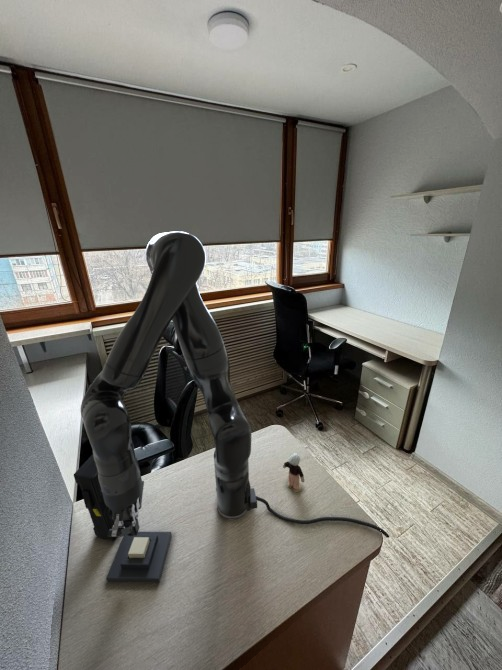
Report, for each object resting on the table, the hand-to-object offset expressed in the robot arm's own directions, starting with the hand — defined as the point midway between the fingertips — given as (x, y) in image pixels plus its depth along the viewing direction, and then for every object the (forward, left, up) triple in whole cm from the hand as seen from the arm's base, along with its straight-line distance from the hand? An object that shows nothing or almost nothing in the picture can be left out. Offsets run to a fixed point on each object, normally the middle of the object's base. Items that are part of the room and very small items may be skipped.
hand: (133, 531), depth 62 cm
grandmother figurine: (-43, -11, -10) cm, 46 cm away
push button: (0, 0, -10) cm, 10 cm away
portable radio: (+9, -9, -10) cm, 16 cm away
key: (0, 0, -7) cm, 7 cm away
